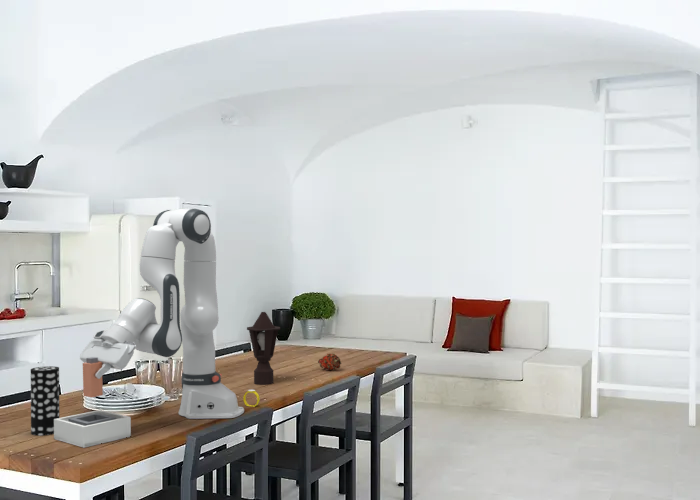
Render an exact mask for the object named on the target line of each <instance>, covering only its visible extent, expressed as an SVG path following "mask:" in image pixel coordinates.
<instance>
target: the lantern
mask: <svg viewBox="0 0 700 500" xmlns="http://www.w3.org/2000/svg"><path fill="white" fill-rule="evenodd" d="M246 330H247V331H249V332H248V333H249V338H250V342H251V346H252V347H251V348H252V352H253V357H254V358H255V359H256V362H257V366H256V368H255V369H254V371H253V384H254V385H257V386H268V385H269V386H270V385H273V384H274V369H273V368H272V367H271V364H270V361H271V360H272V358H273V356H274V354H275V353H274V352H275V347H276V343H277V342H276V341H277V337H278V332H279V330H281V326H276V325H274V324H273V322H272V320H271V319H270V317H269V315H268V314H267V312H266V311H261V312H260V314H259V315H258V317H257V318H256V320H255V322H254V324H253V325H252V326H247V327H246Z"/></svg>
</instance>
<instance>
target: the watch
mask: <svg viewBox="0 0 700 500" xmlns="http://www.w3.org/2000/svg"><path fill="white" fill-rule="evenodd" d="M248 393H250V394H254V395H255V397H256V403H255V404H249V403H248V402H247V395H248ZM242 397H243V398H242V401H243V403H244V405H245V406H246V407H251V408H255V407H257V406H258V405H259V403H260V400H261V398H260V395H259V393H258V392H257V391H256V389H248V390H247V391H246V392H245V393H244V395H243V396H242Z"/></svg>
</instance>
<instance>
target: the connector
mask: <svg viewBox="0 0 700 500" xmlns="http://www.w3.org/2000/svg"><path fill="white" fill-rule="evenodd" d="M86 361H87V362H86V363H84V362H82V387H83V388H82V390H83V393H82V395H83V397H87V398H95V397H101V396H103V395H104V391H103V376H102V377H101V378H100V379H98V378H95V377H94V373H95V372H96V371H98V370H99V369H101V368H102V362H98V358H97V357H90V358H86Z"/></svg>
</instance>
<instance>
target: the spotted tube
mask: <svg viewBox="0 0 700 500" xmlns="http://www.w3.org/2000/svg"><path fill="white" fill-rule="evenodd" d="M57 418H60V367H59V366H50V365H49V366H38V367H33V368H31V369H30V435H33V436H49V435H50V434H51V435H54V419H57Z"/></svg>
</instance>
